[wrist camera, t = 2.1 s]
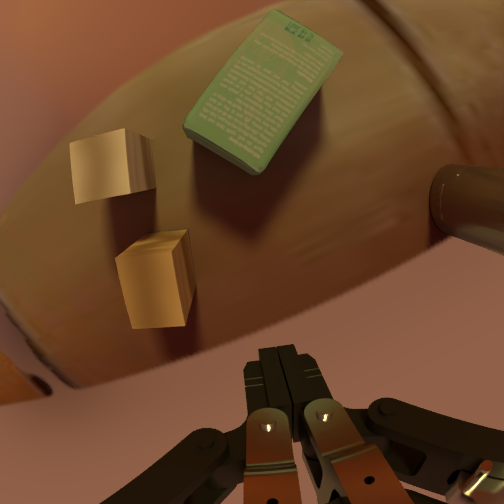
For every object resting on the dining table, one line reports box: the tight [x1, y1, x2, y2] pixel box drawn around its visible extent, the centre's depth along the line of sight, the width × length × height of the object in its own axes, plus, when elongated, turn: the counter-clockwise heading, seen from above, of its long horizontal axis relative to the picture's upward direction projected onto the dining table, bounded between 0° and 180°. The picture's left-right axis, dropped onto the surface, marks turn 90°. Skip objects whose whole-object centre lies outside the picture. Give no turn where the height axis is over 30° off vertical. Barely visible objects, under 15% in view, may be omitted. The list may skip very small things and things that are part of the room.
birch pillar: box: [70, 128, 156, 204], centre depth 23 cm, size 5×5×8 cm
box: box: [183, 9, 344, 176], centre depth 23 cm, size 7×14×8 cm, turn 148°
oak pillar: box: [115, 229, 196, 329], centre depth 25 cm, size 4×6×9 cm
